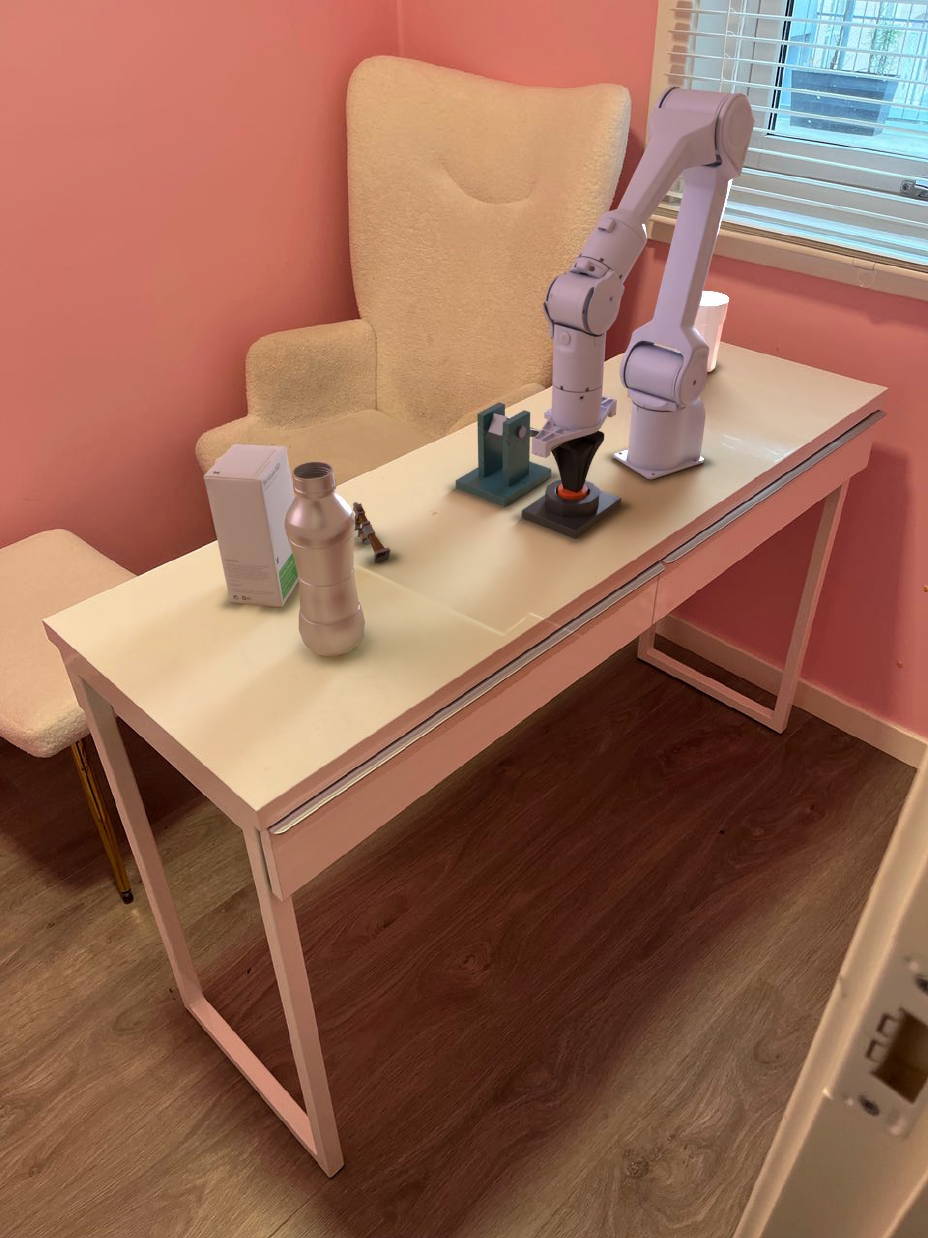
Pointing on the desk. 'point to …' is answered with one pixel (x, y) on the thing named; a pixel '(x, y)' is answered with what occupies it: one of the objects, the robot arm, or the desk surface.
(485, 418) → the bracket
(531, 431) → the lever
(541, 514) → the control block
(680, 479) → the desk surface
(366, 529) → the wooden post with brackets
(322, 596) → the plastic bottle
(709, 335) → the cup
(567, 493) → the button
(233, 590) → the cosmetic box
